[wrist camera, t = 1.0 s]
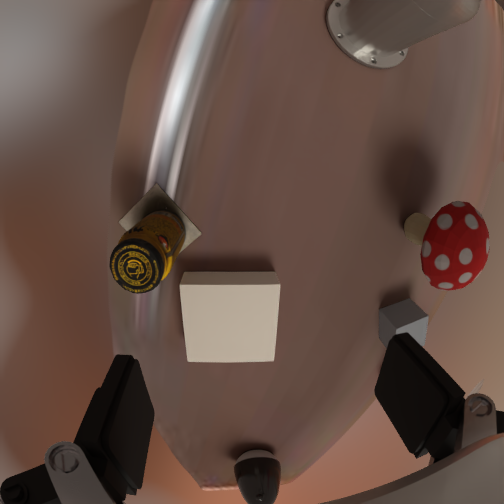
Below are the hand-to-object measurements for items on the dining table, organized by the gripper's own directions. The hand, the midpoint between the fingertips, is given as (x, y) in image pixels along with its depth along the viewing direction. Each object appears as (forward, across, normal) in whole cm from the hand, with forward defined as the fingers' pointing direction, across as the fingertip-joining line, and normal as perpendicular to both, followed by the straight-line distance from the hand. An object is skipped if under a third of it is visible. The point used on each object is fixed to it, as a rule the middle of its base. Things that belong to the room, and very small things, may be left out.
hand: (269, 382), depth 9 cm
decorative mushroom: (+27, -25, 0) cm, 37 cm away
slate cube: (+27, -26, +16) cm, 41 cm away
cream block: (+28, +1, +12) cm, 30 cm away
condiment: (+28, +10, 0) cm, 29 cm away
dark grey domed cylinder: (+29, -2, +52) cm, 60 cm away
